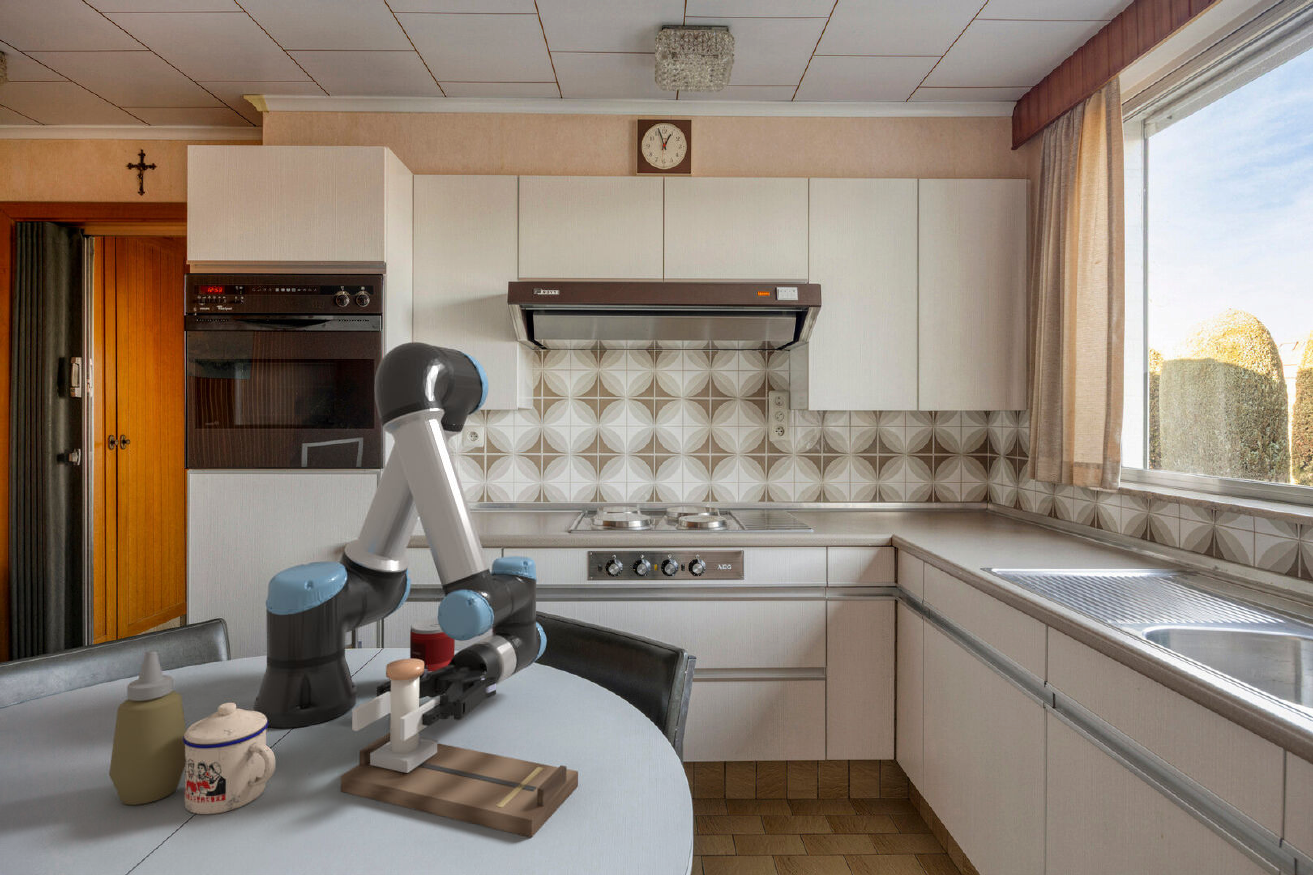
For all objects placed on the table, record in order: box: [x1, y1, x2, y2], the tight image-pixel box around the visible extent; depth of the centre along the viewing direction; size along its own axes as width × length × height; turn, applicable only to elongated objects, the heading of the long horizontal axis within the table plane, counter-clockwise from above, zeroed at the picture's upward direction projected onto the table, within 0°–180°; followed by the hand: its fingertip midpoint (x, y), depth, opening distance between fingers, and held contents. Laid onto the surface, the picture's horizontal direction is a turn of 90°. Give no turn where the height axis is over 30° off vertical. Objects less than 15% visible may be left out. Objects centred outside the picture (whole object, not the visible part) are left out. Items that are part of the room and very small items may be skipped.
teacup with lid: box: [183, 702, 277, 815], centre depth 85 cm, size 12×9×12 cm
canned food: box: [409, 618, 456, 671], centre depth 124 cm, size 8×8×11 cm
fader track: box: [340, 732, 579, 838], centre depth 88 cm, size 28×12×4 cm, turn 71°
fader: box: [370, 658, 438, 773], centre depth 91 cm, size 6×6×13 cm
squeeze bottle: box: [108, 651, 186, 806], centre depth 86 cm, size 8×8×18 cm
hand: (378, 724), depth 86 cm, fingers open, 7 cm apart
